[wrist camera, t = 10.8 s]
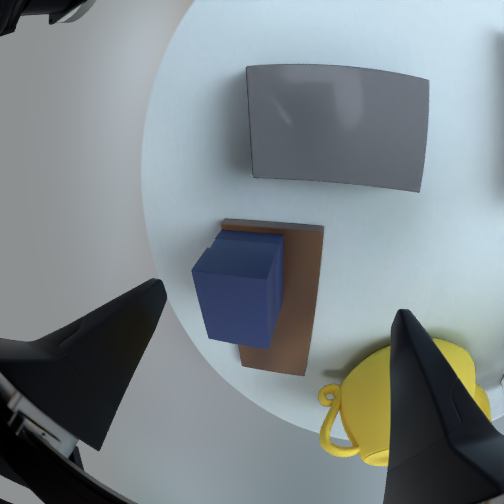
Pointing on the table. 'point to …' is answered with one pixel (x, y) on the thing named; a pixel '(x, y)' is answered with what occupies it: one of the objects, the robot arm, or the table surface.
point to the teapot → (382, 402)
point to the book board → (288, 296)
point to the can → (502, 384)
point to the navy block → (237, 295)
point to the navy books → (256, 244)
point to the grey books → (338, 124)
